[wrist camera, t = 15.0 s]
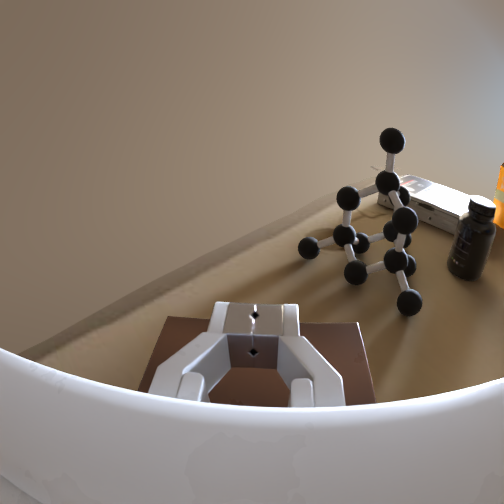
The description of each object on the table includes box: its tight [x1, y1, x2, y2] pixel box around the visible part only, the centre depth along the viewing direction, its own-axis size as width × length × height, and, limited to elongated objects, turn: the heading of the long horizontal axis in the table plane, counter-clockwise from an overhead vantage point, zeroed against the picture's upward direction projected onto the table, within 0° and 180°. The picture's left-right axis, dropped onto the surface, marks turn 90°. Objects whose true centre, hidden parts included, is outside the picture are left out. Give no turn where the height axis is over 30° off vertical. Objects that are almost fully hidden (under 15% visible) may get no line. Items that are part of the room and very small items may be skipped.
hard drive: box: [377, 174, 494, 235], centre depth 57 cm, size 18×27×4 cm
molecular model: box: [298, 128, 422, 316], centre depth 35 cm, size 18×20×20 cm
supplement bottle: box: [447, 196, 496, 281], centre depth 35 cm, size 7×7×12 cm
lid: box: [138, 316, 377, 408], centre depth 12 cm, size 12×12×1 cm
